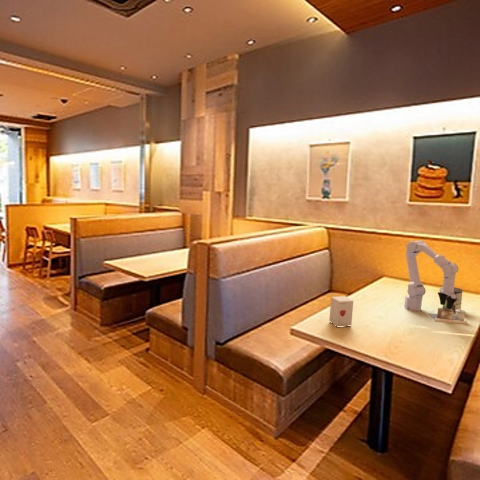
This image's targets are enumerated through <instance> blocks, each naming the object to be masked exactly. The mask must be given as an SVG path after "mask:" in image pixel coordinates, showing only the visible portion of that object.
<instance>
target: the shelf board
mask: <svg viewBox="0 0 480 480" xmlns="http://www.w3.org/2000/svg"><path fill="white" fill-rule="evenodd" d="M437 314H438V313H430V312H429V313H428V315H429V316H430V318H432V320H434V322H445V323H456V324H464V325H465V324H466V325H467V323H468V322H467V320H464V321H459V320H455V317H456V315H453V320H448V319H438V318H437Z"/></svg>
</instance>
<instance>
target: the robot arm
mask: <svg viewBox="0 0 480 480" xmlns="http://www.w3.org/2000/svg"><path fill="white" fill-rule="evenodd" d="M421 252H422V253H424V254H426V255H427V257H430V258H431V259H433V263H434V264H435V265H437V266H438V267H440V268H441V269H442V272H443V280H442V281H443V282H442V287H439V291H438V292H437V294H438V297H439V303H440V305H441V306H443V305H445V302H446V300H447V309H452V306H453V304H454V303H455V301H456V300H457V298H456V295H455V294H454V292H453V291H454V287H455V282H456V281H455V280H456V274H457V273H458V272H459V266H458V265H457V263H455V262H453V263H452V261H451V260H449V259H447V258H446V256H444V255H442V254H437V252H435V251H434V250H433V249H432V248H431V247H430V246H428V244H427V243H426V242H424V241H423V240H413V241H412V240H411V241H410V240H409V242H408V243H406V251H405V256H406V262H407V263H406V264H407V268H408V269H407V271H408V275H409V283H408V284H407V295H406V296H405V297H404V304H403V305H404V308H405V310H409V311H418V312H419V311H422V304H423V302H422V301H423V298H424V295H425V294H426V293H427V292H426V287H424V283H423V282H422V281H421V279H420V275H419V274H420V273H419V269H418V267H419V266H418V261H417V256H418V254H419V253H421ZM447 296H449V297H447Z"/></svg>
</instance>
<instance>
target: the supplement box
mask: <svg viewBox="0 0 480 480" xmlns="http://www.w3.org/2000/svg"><path fill="white" fill-rule="evenodd" d="M353 307H354V300H353V299H351V298H349V297H348V296H345V295H342V296H331V298H330V309H329V320H328V322H329V321H331V322H332V323H333V324H335V325H336V326H348V325H351V326H352V322H353V321H352V320H353V309H354V308H353ZM333 324H332V325H333ZM336 326H335V327H336Z"/></svg>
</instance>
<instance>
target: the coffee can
mask: <svg viewBox="0 0 480 480" xmlns="http://www.w3.org/2000/svg"><path fill="white" fill-rule="evenodd" d="M453 292H454V294H455V295H456V298H457V300H456V301H455V303H454V304H453V306H452V310H454V313H456V310H460V309H461V310H462V299H463V298H462V297H463V289H462V288H458V287H455V286H454V291H453ZM447 297H449V296H447ZM442 308H447V300H446V302H445V305H442Z"/></svg>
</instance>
